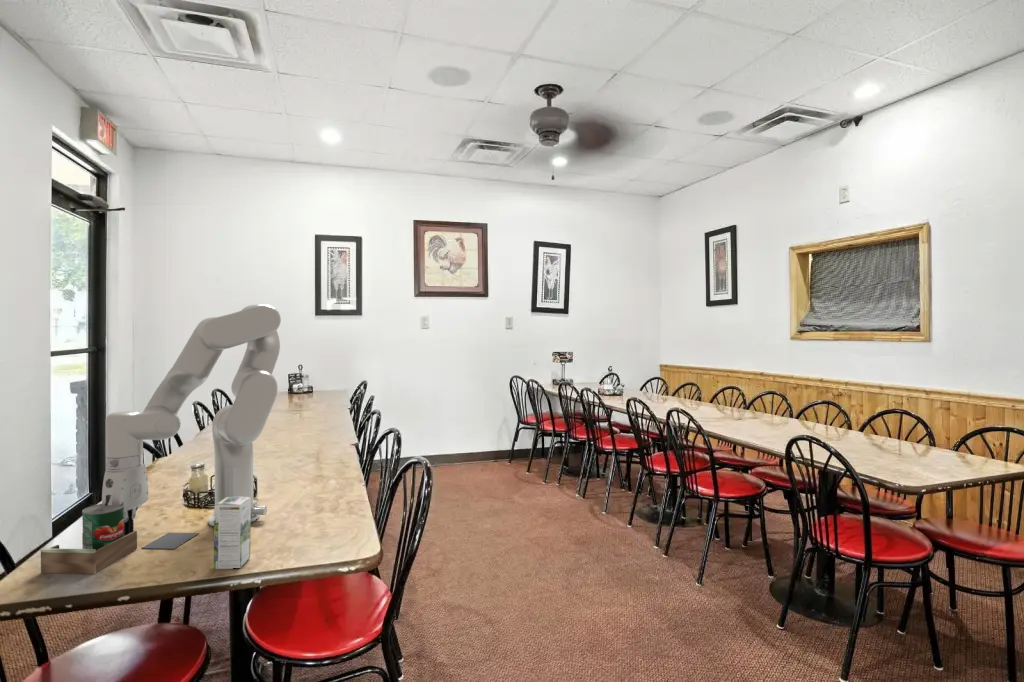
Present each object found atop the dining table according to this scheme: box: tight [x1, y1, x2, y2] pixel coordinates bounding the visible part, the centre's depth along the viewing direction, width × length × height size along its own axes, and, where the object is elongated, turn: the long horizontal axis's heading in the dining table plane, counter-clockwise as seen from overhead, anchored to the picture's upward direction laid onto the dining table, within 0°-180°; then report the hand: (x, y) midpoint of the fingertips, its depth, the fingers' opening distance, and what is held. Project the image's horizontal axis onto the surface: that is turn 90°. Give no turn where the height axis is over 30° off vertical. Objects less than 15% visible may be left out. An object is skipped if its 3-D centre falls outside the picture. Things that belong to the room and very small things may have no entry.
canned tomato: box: [81, 503, 125, 550], centre depth 128 cm, size 8×8×11 cm
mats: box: [141, 532, 200, 550], centre depth 132 cm, size 24×18×1 cm
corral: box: [40, 530, 138, 574], centre depth 130 cm, size 12×24×5 cm, turn 178°
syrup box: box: [213, 496, 252, 570], centre depth 123 cm, size 6×6×14 cm
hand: (124, 536), depth 135 cm, fingers closed
